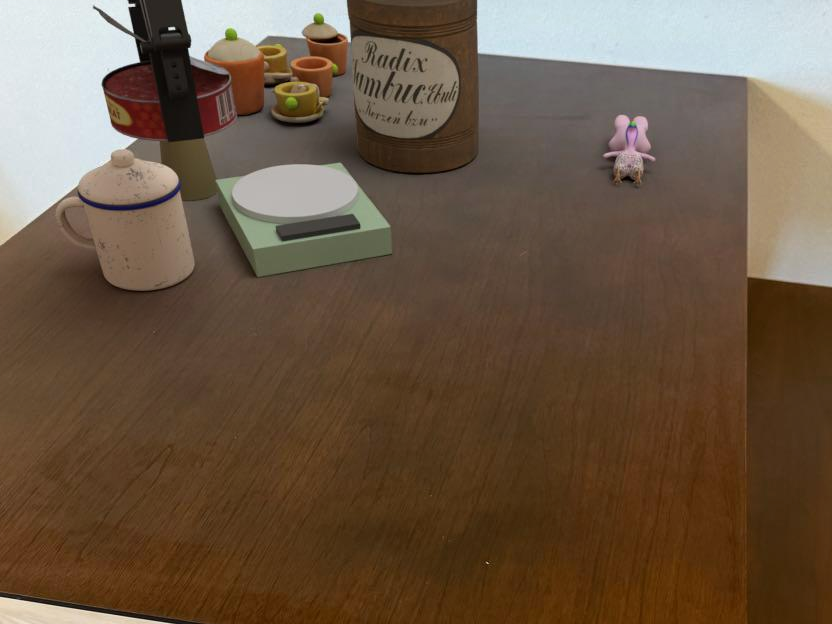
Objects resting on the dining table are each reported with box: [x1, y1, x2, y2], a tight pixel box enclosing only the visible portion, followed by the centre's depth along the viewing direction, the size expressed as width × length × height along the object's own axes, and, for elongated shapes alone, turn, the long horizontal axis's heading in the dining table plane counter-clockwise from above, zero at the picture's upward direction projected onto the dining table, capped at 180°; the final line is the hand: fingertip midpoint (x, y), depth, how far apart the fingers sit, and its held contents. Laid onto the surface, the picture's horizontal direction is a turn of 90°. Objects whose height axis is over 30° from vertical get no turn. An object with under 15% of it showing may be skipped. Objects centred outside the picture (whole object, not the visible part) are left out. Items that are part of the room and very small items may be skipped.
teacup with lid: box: [55, 148, 196, 292], centre depth 91 cm, size 12×9×12 cm
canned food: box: [92, 5, 238, 142], centre depth 76 cm, size 11×10×10 cm
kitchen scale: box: [215, 162, 393, 278], centre depth 101 cm, size 17×14×4 cm
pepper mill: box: [159, 137, 218, 202], centre depth 105 cm, size 6×6×11 cm
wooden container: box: [346, 0, 480, 174], centre depth 112 cm, size 15×15×22 cm
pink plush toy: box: [602, 114, 656, 185], centre depth 117 cm, size 6×6×15 cm
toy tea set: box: [203, 12, 349, 124], centre depth 129 cm, size 26×16×10 cm, turn 174°
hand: (174, 114), depth 78 cm, fingers closed on canned food, 10 cm apart
